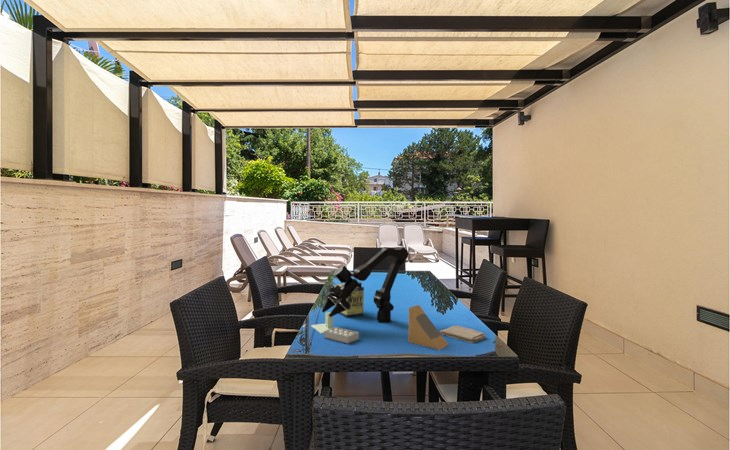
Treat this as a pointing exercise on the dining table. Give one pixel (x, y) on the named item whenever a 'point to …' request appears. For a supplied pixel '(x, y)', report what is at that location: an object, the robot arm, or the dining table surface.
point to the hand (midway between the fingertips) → (326, 314)
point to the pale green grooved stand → (326, 326)
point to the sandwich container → (423, 330)
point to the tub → (341, 335)
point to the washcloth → (463, 334)
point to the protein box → (354, 303)
